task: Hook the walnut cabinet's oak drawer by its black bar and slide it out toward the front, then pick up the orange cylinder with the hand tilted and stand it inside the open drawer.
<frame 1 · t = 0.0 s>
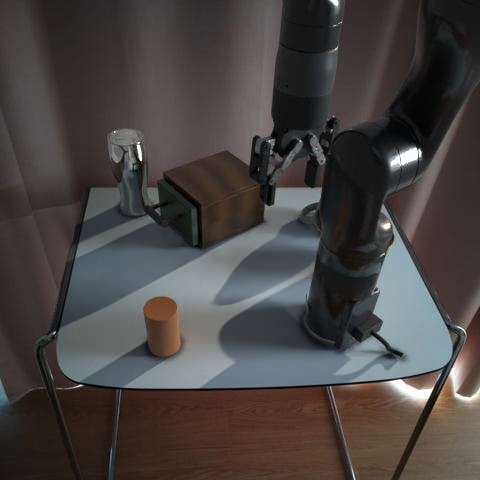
hand: (289, 194, 74), 17 cm above the table, tool pointing down, fingers open, 8 cm apart
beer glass: (135, 208, 99), on the table
cabinet: (215, 218, 98), on the table
flower pot: (356, 265, 90), on the table
orange cylinder: (164, 344, 75), on the table
drawer: (194, 205, 92), point 5 cm above the table, slide at 0.5 cm
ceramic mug: (326, 225, 98), on the table
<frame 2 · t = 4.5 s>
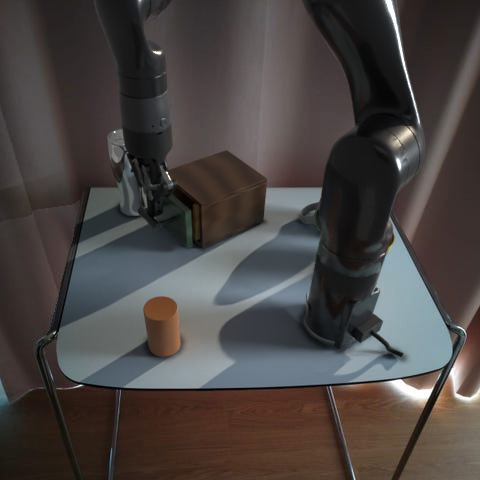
hand: (155, 213, 88), 6 cm above the table, tool pointing down, fingers closed
drawer: (189, 207, 92), point 5 cm above the table, slide at 1.7 cm, touching gripper
everything else where it was.
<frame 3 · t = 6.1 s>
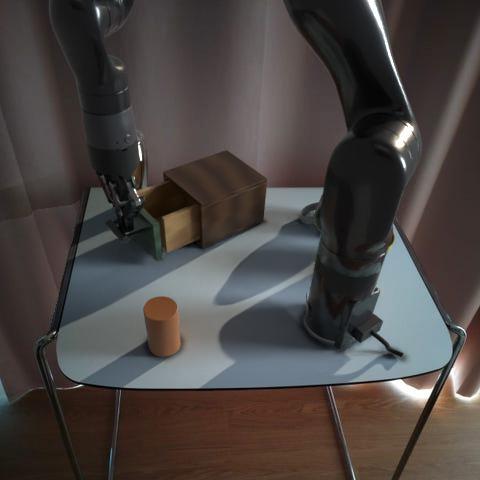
hand: (126, 230, 86), 5 cm above the table, tool pointing down, fingers closed
drawer: (159, 219, 89), point 5 cm above the table, slide at 8.0 cm
everything else where it was.
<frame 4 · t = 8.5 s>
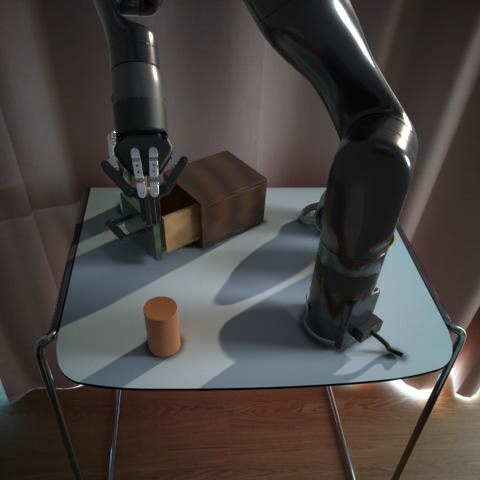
hand: (151, 225, 72), 14 cm above the table, tool tilted 45°, fingers closed
nothing on the table moved.
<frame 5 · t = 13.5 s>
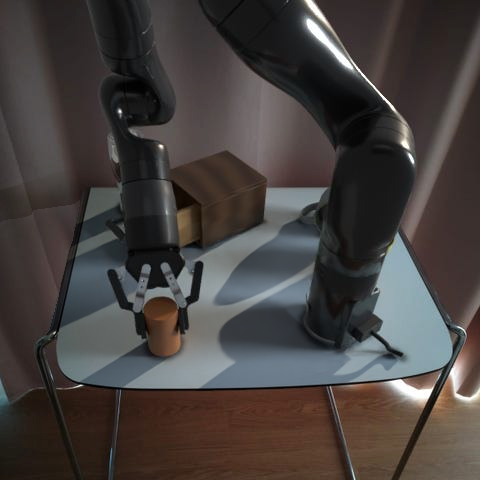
hand: (163, 335, 71), 4 cm above the table, tool tilted 45°, fingers closed on orange cylinder, 5 cm apart
orange cylinder: (164, 344, 75), on the table, touching gripper
everything else where it was.
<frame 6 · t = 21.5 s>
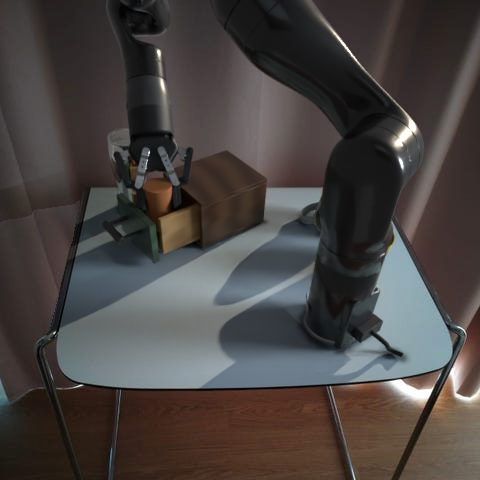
hand: (160, 210, 85), 8 cm above the table, tool tilted 45°, fingers closed on orange cylinder, 4 cm apart
orange cylinder: (161, 223, 90), point 4 cm above the table, touching gripper
drawer: (156, 220, 89), point 5 cm above the table, slide at 8.7 cm
everything else where it was.
when the fingers open (8 cm above the table, at t = 22.8 s): orange cylinder drops 2 cm, resting on drawer.
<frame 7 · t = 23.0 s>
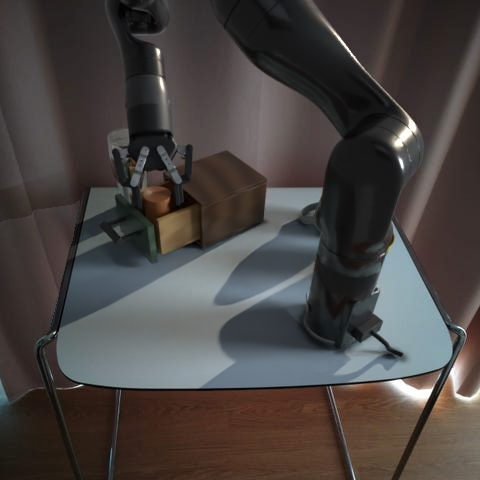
hand: (159, 208, 85), 8 cm above the table, tool tilted 45°, fingers open, 6 cm apart
orange cylinder: (160, 231, 91), point 2 cm above the table, touching drawer
drawer: (154, 221, 88), point 5 cm above the table, slide at 9.1 cm, touching gripper, orange cylinder
everything else where it was.
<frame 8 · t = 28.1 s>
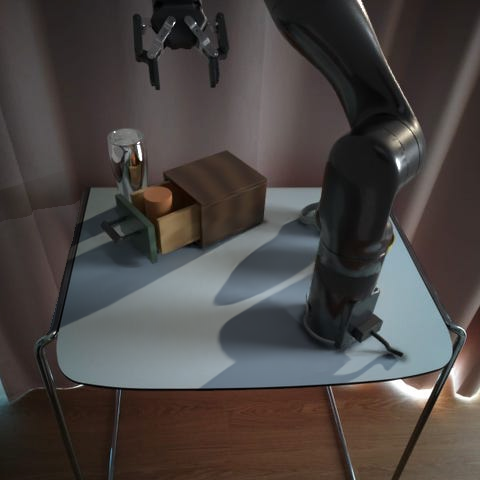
hand: (185, 87, 75), 27 cm above the table, tool tilted 45°, fingers open, 8 cm apart
drawer: (155, 220, 88), point 5 cm above the table, slide at 9.0 cm, touching orange cylinder
everything else where it was.
at the end: drawer slide at 9.0 cm; orange cylinder inside the target area in the drawer (0.1 cm from its centre), point 2.0 cm above the cabinet's base; orange cylinder tilted 0° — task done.
